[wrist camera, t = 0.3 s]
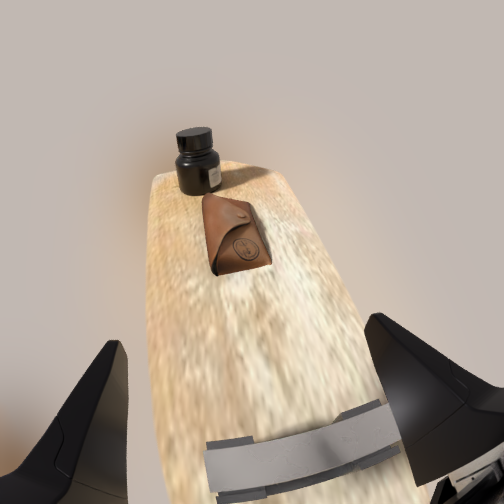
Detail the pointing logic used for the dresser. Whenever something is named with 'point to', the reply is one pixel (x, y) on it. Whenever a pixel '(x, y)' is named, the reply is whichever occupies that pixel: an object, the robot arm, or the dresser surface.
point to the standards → (264, 491)
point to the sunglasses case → (232, 236)
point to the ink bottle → (197, 162)
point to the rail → (300, 452)
